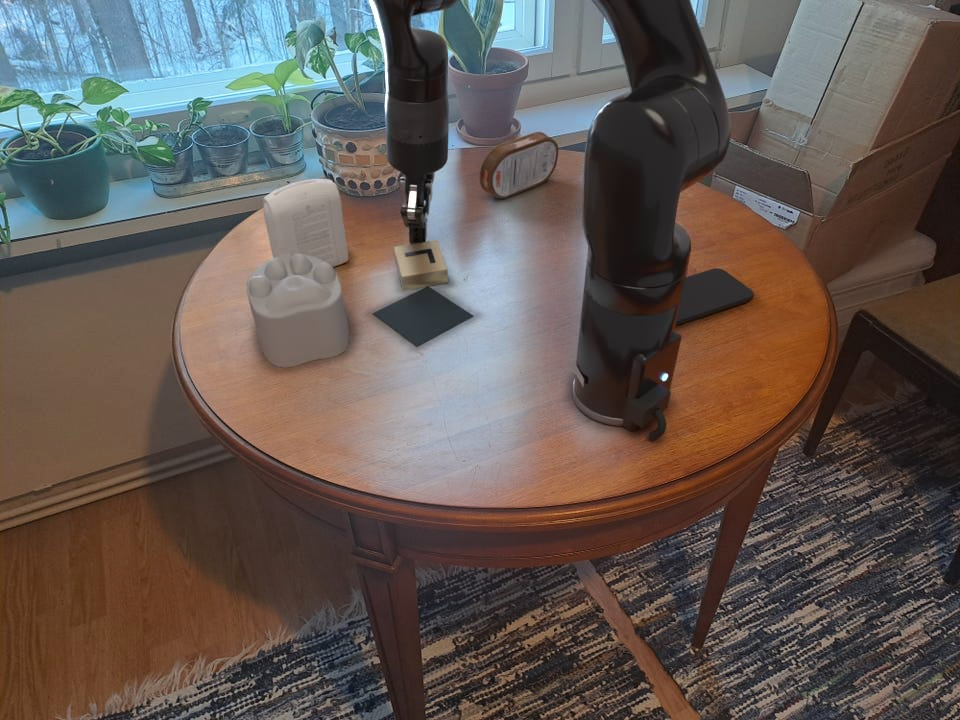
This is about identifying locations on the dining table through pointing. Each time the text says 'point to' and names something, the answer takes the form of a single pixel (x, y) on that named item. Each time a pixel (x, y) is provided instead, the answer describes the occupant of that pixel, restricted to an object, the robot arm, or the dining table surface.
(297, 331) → the lumpy-topped squat cylinder
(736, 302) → the phone
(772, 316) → the dining table surface
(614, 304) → the robot arm
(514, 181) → the tin
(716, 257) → the dining table surface
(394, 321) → the mat
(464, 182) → the dining table surface
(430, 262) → the tile
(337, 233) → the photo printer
